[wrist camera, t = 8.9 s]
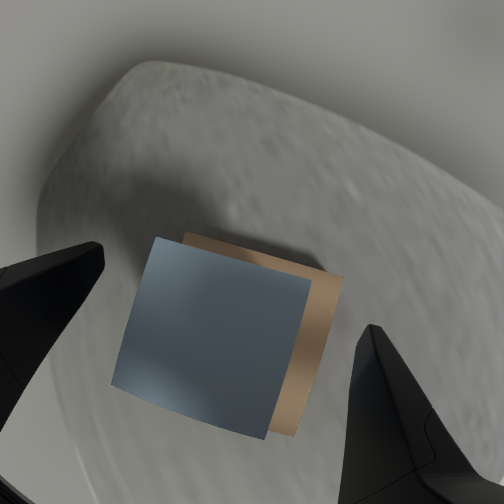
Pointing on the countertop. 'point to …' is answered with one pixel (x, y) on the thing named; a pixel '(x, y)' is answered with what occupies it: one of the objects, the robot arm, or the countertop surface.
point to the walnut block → (310, 330)
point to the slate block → (211, 336)
